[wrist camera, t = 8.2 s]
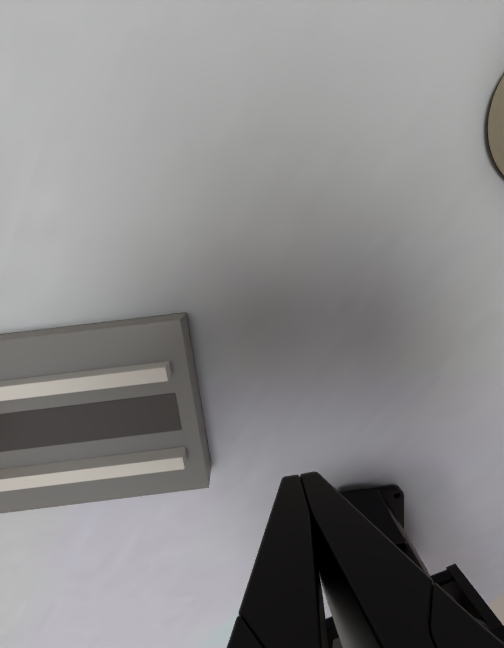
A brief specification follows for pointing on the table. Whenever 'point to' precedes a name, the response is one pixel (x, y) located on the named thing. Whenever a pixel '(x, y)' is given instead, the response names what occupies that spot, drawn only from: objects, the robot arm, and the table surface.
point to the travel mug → (497, 126)
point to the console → (100, 413)
